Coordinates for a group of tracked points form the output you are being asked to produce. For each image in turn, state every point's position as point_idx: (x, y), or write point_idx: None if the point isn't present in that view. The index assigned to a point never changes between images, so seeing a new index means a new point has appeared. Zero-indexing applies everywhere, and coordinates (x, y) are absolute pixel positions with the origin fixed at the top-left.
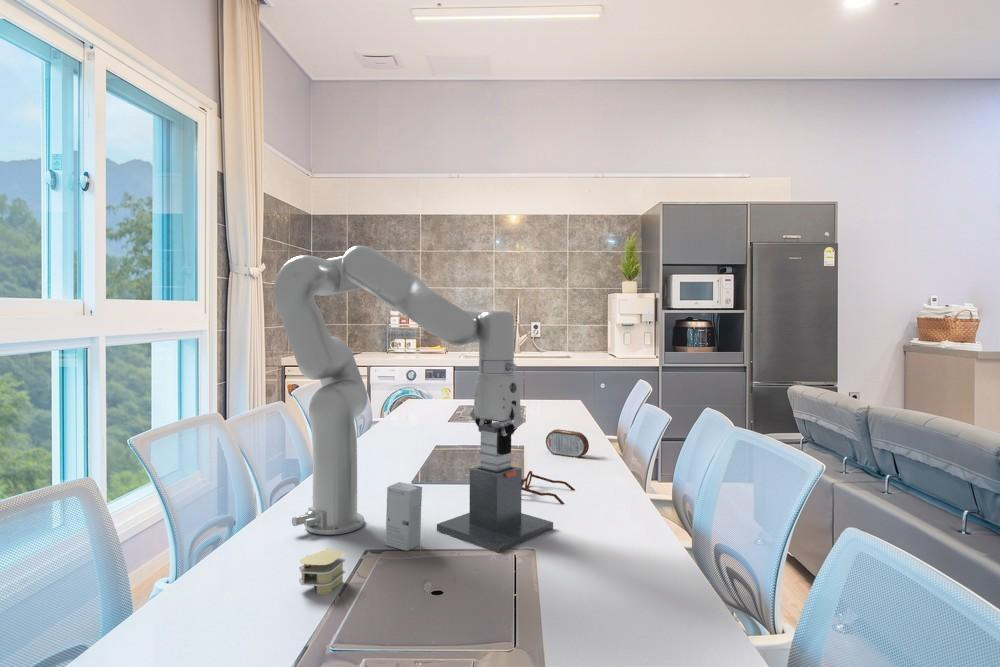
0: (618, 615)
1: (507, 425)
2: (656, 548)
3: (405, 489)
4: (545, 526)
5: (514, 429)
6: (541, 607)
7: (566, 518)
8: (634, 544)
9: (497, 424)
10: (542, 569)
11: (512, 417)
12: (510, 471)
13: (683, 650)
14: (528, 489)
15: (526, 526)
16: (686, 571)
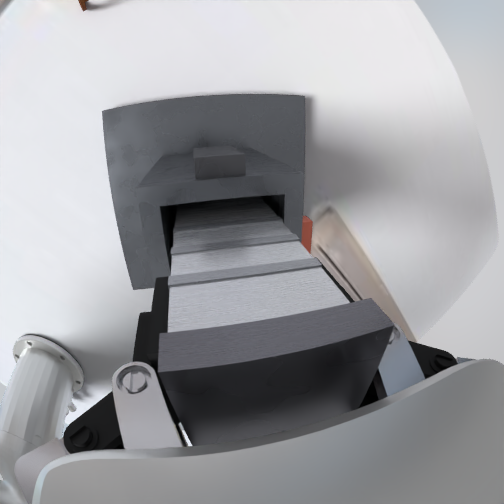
0: (449, 267)
1: (379, 386)
2: (445, 86)
3: (182, 429)
4: (304, 124)
5: (425, 357)
6: (400, 309)
7: (277, 25)
8: (425, 86)
9: (272, 416)
10: (373, 252)
11: (437, 389)
12: (300, 241)
13: (477, 269)
14: None
15: (277, 159)
16: (477, 139)
